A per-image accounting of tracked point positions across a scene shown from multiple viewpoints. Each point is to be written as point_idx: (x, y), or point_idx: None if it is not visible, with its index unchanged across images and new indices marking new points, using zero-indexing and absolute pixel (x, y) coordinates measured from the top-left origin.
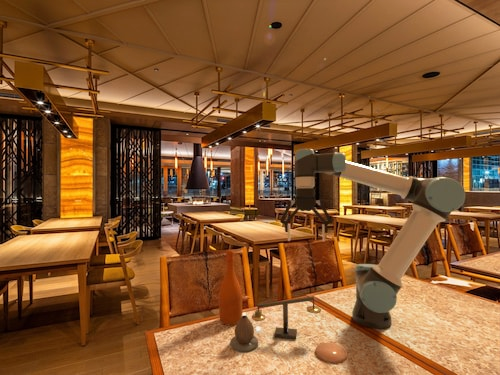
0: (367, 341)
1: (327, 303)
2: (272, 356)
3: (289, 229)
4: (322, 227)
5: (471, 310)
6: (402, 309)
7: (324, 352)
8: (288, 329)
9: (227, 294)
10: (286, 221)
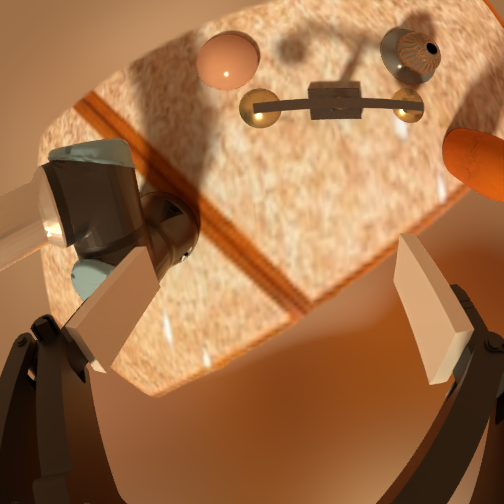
0: (164, 134)
1: (257, 284)
2: (340, 24)
3: (436, 293)
4: (90, 315)
5: (62, 292)
6: None
7: (238, 51)
8: (330, 114)
9: (501, 140)
10: (497, 359)
